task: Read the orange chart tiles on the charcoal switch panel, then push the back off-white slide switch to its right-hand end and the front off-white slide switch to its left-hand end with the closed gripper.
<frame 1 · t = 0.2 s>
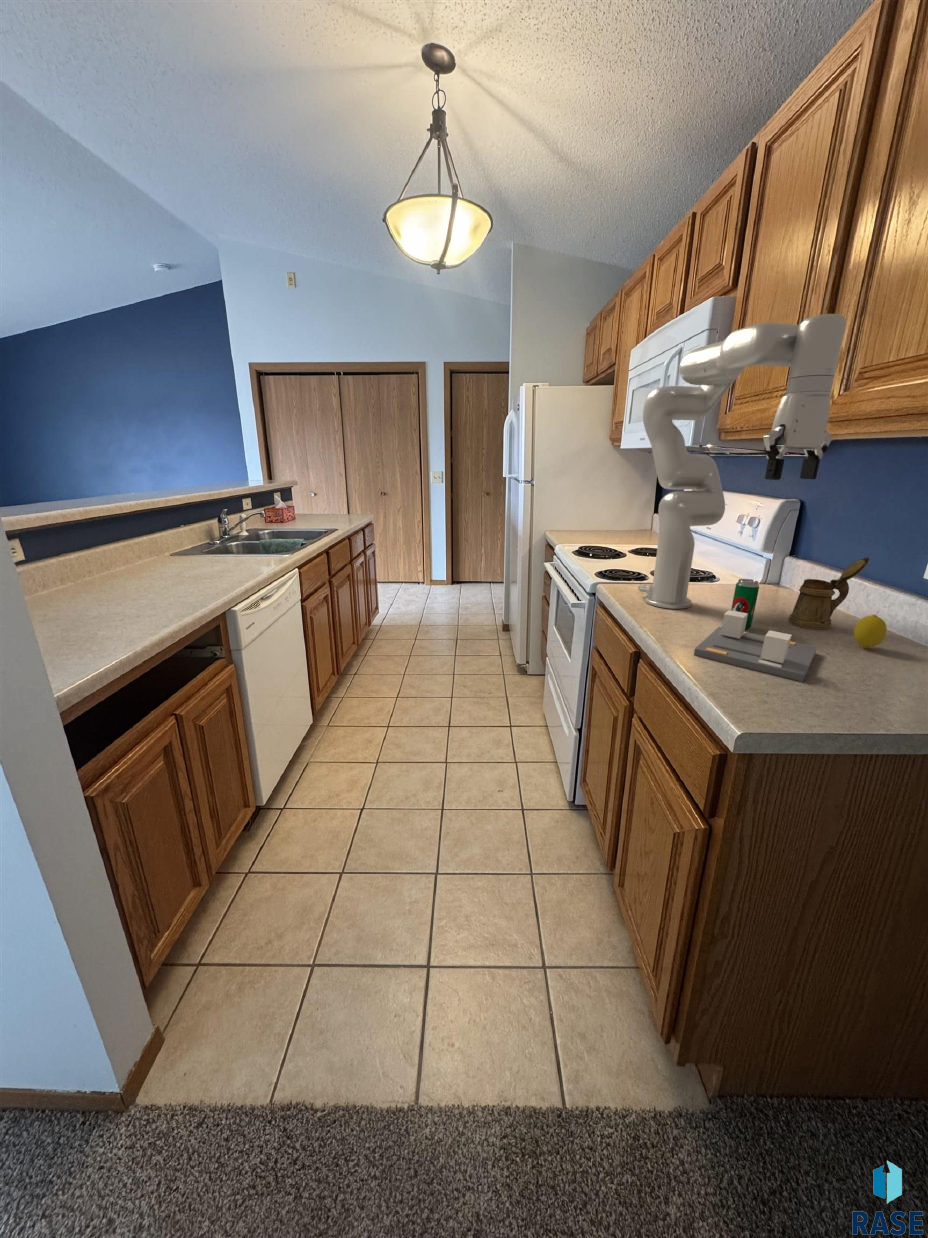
hand: (790, 479, 102), 36 cm above the table, tool pointing down, fingers open, 9 cm apart
back slider: (734, 624, 113), point 4 cm above the table, slide at 0.0 cm
soda can: (739, 627, 125), on the table
front slider: (776, 646, 100), point 4 cm above the table, slide at 10.0 cm
switch panel: (755, 654, 108), on the table
wooden mug: (818, 625, 126), on the table
lemon: (864, 649, 111), on the table
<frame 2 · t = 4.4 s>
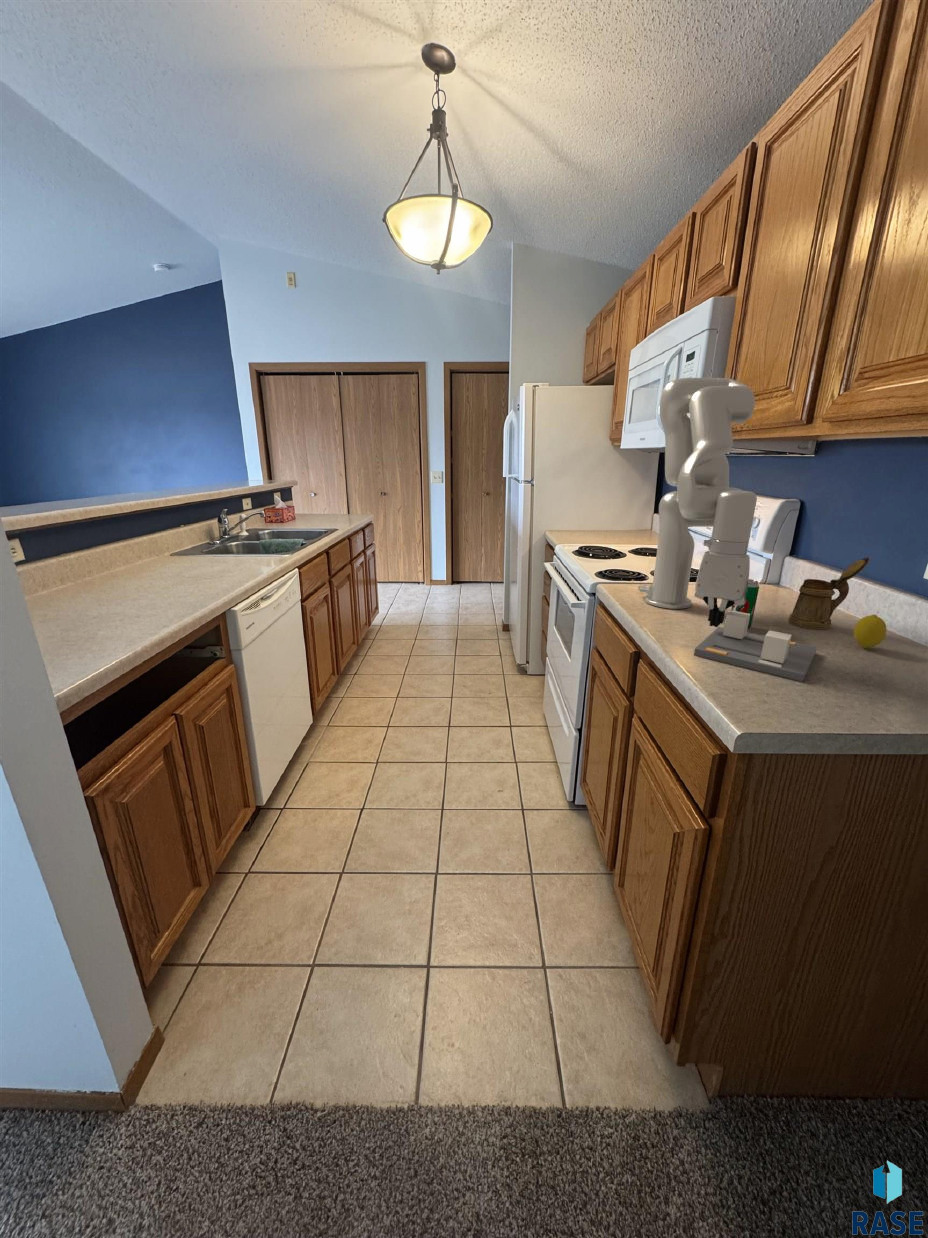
hand: (714, 625, 116), 3 cm above the table, tool pointing down, fingers closed
back slider: (736, 624, 113), point 4 cm above the table, slide at 0.5 cm, touching gripper
everything else where it was.
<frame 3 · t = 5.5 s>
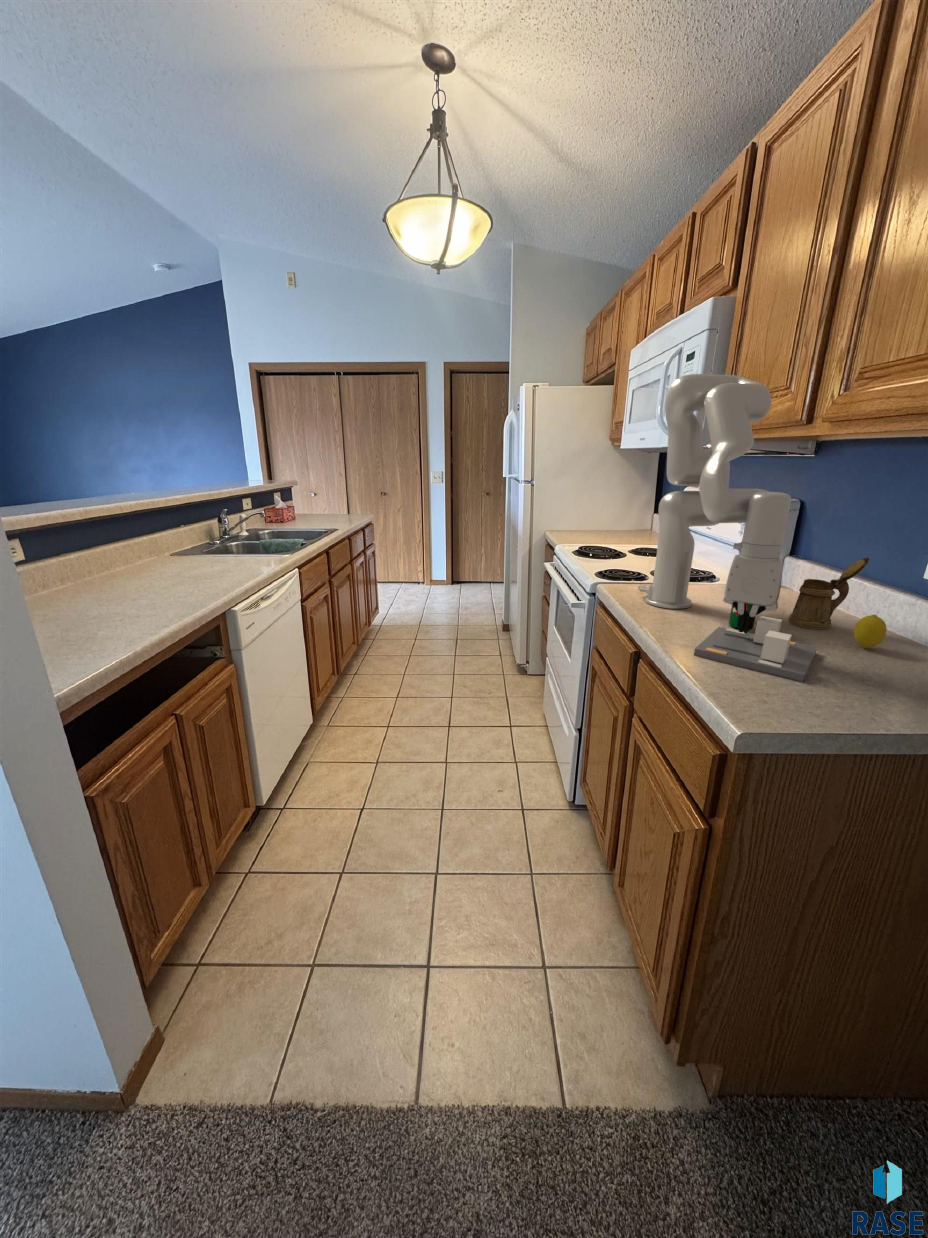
hand: (744, 631, 112), 3 cm above the table, tool pointing down, fingers closed
back slider: (767, 630, 109), point 4 cm above the table, slide at 6.8 cm, touching gripper
everything else where it was.
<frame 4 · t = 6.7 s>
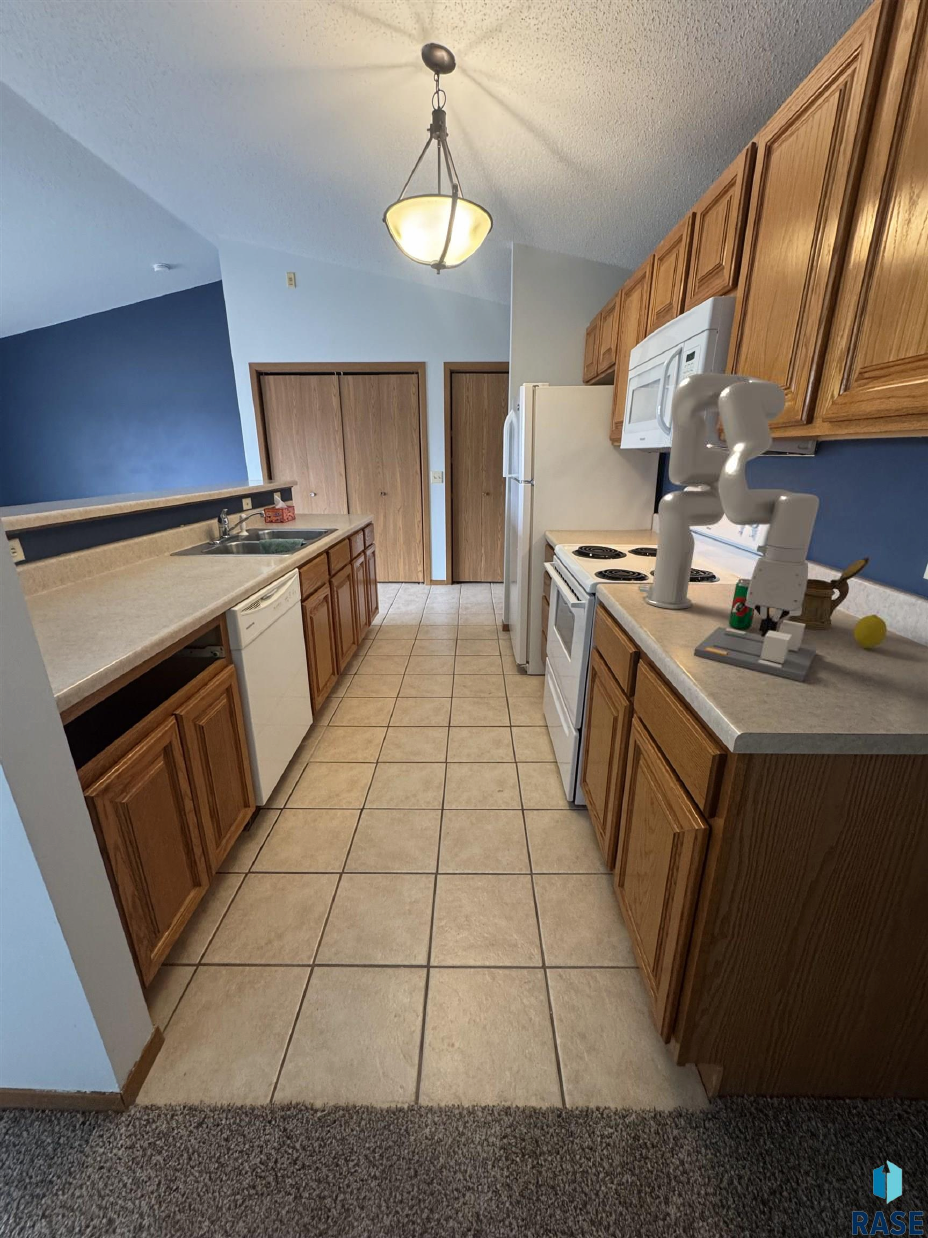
hand: (766, 635, 110), 3 cm above the table, tool pointing down, fingers closed
back slider: (790, 635, 107), point 4 cm above the table, slide at 11.1 cm, touching gripper
everything else where it was.
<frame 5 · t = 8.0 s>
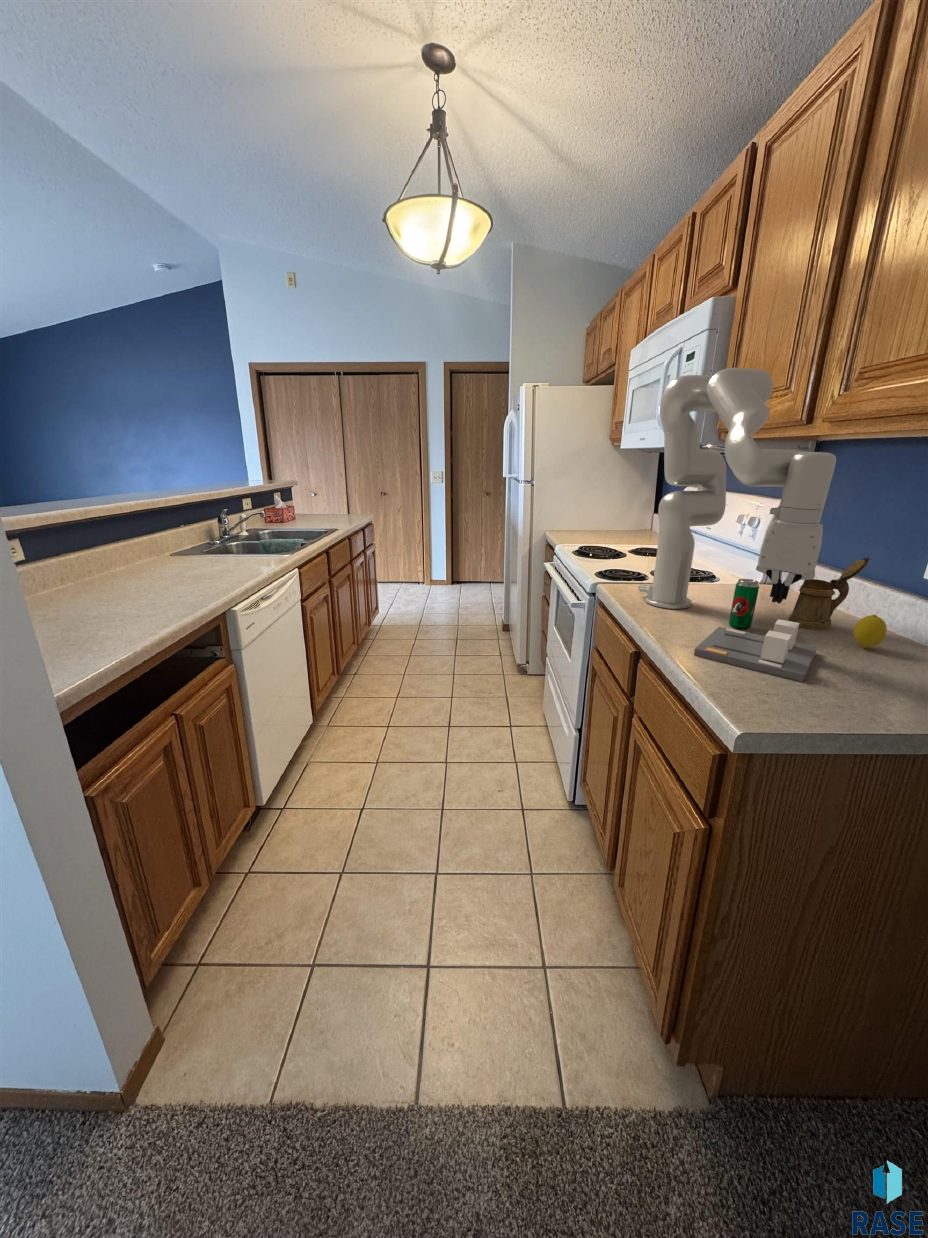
hand: (777, 601, 107), 11 cm above the table, tool pointing down, fingers closed
back slider: (784, 634, 107), point 4 cm above the table, slide at 10.0 cm
everything else where it was.
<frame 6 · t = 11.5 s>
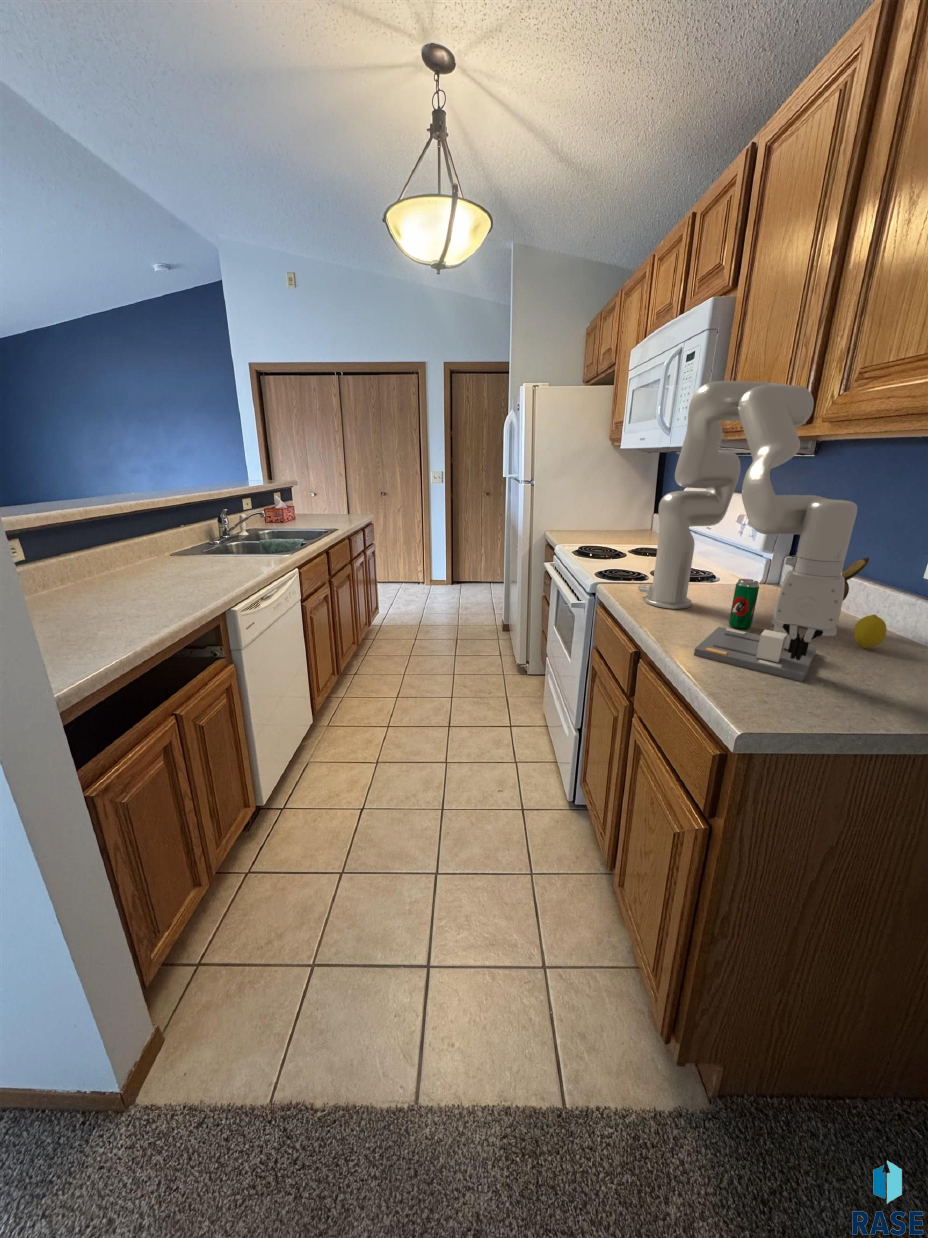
hand: (796, 657, 99), 3 cm above the table, tool pointing down, fingers closed
front slider: (771, 645, 101), point 4 cm above the table, slide at 9.2 cm, touching gripper
everything else where it was.
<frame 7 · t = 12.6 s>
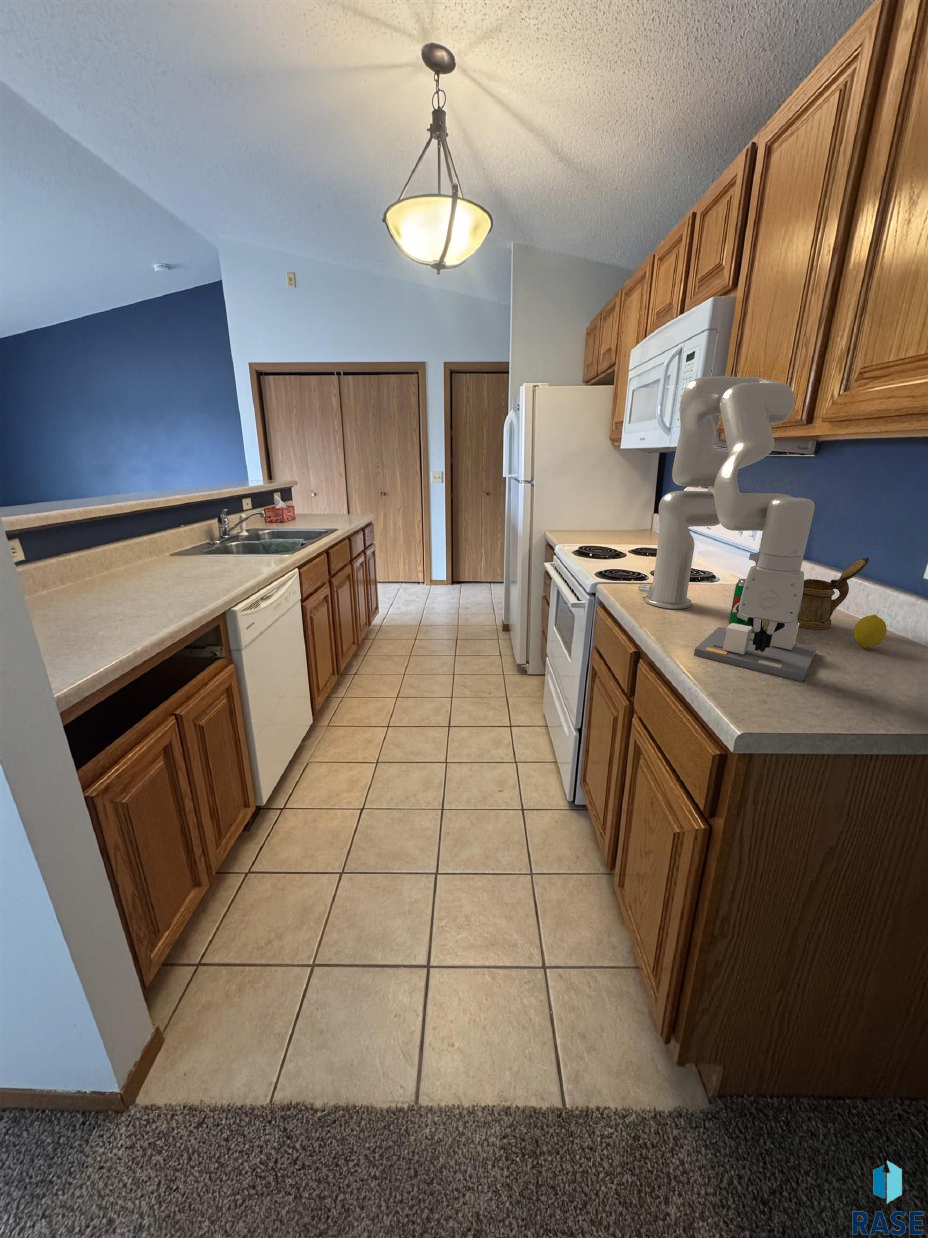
hand: (760, 649, 103), 3 cm above the table, tool pointing down, fingers closed
front slider: (737, 638, 105), point 4 cm above the table, slide at 2.9 cm, touching gripper
everything else where it was.
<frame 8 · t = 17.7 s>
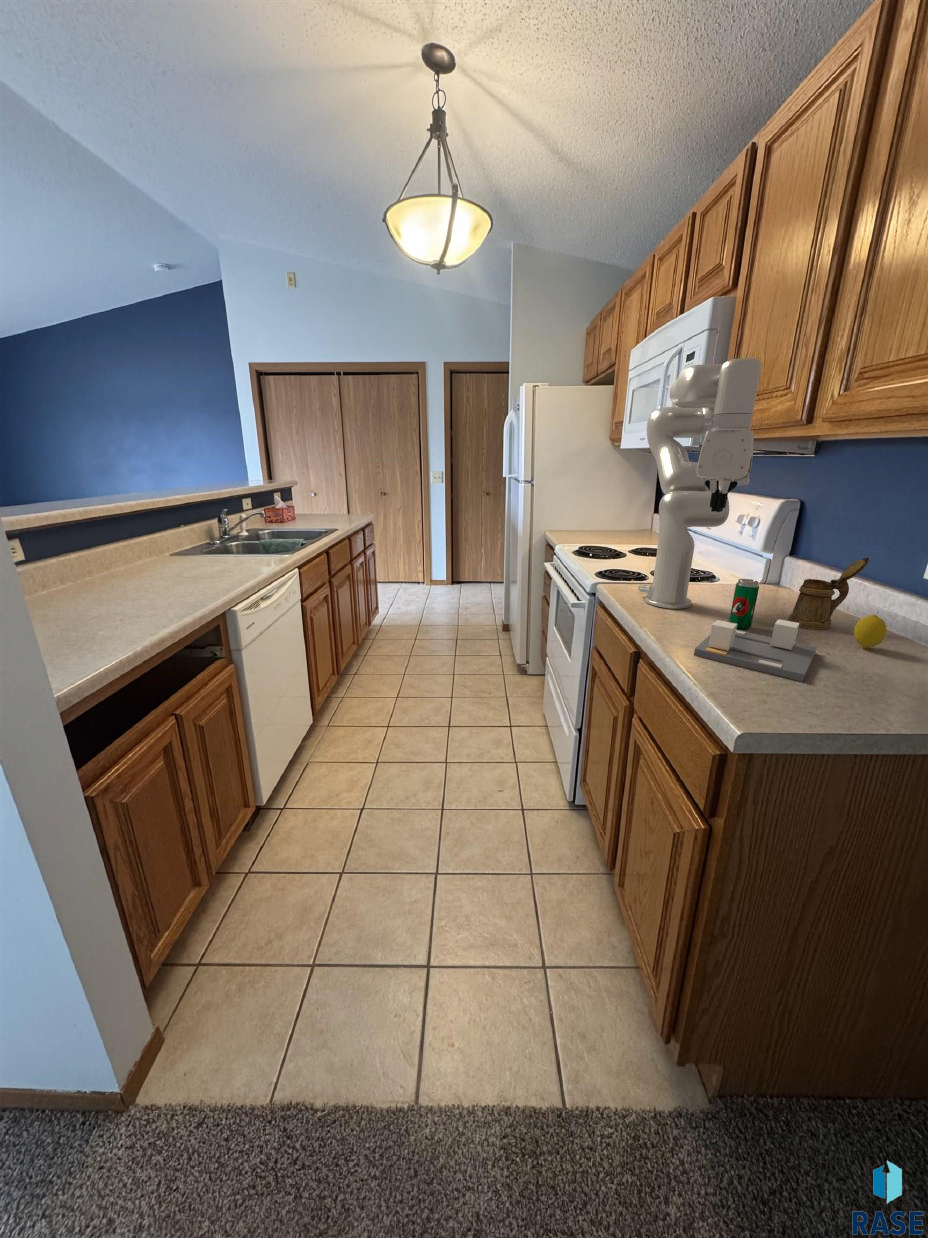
hand: (716, 511, 111), 29 cm above the table, tool pointing down, fingers closed
front slider: (722, 635, 107), point 4 cm above the table, slide at 0.0 cm
everything else where it was.
at the end: back slider slide at 10.0 cm; front slider slide at 0.0 cm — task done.
